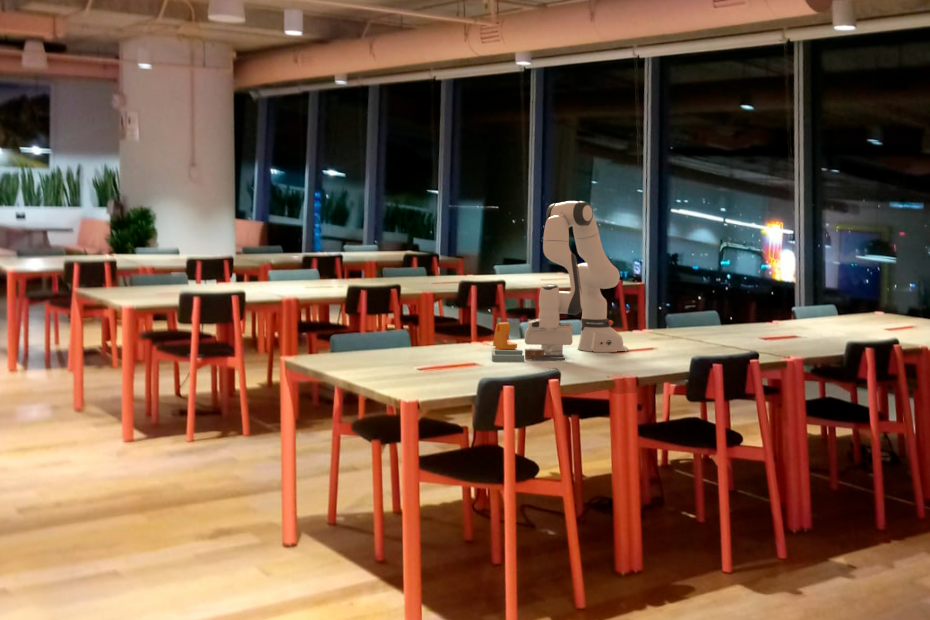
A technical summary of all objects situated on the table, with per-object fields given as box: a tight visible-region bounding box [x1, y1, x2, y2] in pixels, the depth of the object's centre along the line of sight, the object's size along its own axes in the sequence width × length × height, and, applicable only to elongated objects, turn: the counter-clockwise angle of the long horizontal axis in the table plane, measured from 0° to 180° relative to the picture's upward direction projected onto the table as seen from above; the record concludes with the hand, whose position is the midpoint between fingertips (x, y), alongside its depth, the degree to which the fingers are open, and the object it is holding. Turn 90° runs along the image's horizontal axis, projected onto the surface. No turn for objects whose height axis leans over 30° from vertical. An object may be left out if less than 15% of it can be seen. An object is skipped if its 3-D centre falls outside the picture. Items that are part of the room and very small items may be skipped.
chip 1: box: [524, 348, 536, 361], centre depth 435 cm, size 4×4×4 cm
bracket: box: [492, 321, 518, 350], centre depth 463 cm, size 11×7×12 cm, turn 24°
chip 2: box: [534, 348, 545, 357], centre depth 435 cm, size 4×4×4 cm
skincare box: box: [540, 345, 564, 355], centre depth 452 cm, size 10×6×10 cm, turn 18°
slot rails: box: [531, 354, 566, 362], centre depth 435 cm, size 14×8×1 cm, turn 90°
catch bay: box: [491, 349, 525, 362], centre depth 435 cm, size 13×14×2 cm
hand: (548, 355), depth 435 cm, fingers closed
